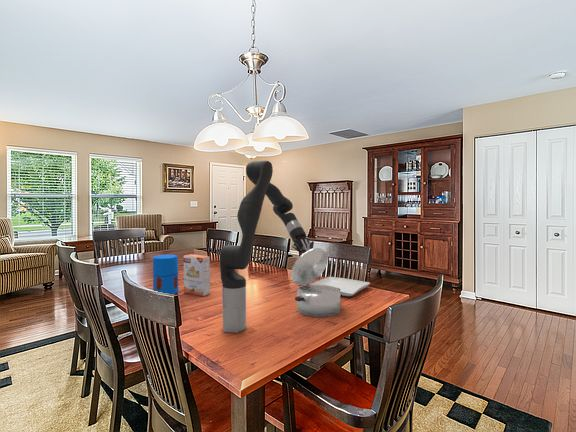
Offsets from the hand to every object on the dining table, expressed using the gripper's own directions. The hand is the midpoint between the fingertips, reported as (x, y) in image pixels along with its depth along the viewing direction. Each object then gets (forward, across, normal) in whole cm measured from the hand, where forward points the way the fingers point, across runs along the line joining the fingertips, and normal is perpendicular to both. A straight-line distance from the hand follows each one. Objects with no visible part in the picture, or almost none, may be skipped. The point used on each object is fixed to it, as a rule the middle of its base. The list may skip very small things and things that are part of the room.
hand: (311, 258), depth 151 cm
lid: (+3, 0, +4) cm, 5 cm away
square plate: (+9, +32, +25) cm, 42 cm away
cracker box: (-20, -37, +54) cm, 68 cm away
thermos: (-8, -58, +42) cm, 72 cm away
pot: (+20, 0, +12) cm, 24 cm away
